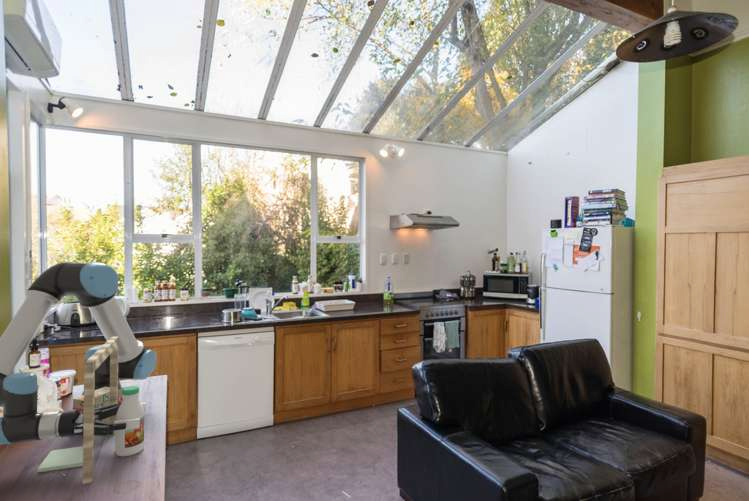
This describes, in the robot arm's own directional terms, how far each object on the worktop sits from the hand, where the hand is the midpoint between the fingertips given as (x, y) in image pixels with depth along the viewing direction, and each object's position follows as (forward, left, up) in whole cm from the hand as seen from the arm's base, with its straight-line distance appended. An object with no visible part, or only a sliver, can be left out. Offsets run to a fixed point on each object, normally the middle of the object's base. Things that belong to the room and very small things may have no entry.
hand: (142, 414), depth 131 cm
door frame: (+3, -11, -11) cm, 16 cm away
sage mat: (+5, -19, -11) cm, 23 cm away
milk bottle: (+1, -3, -11) cm, 12 cm away
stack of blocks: (-21, -21, -11) cm, 32 cm away
